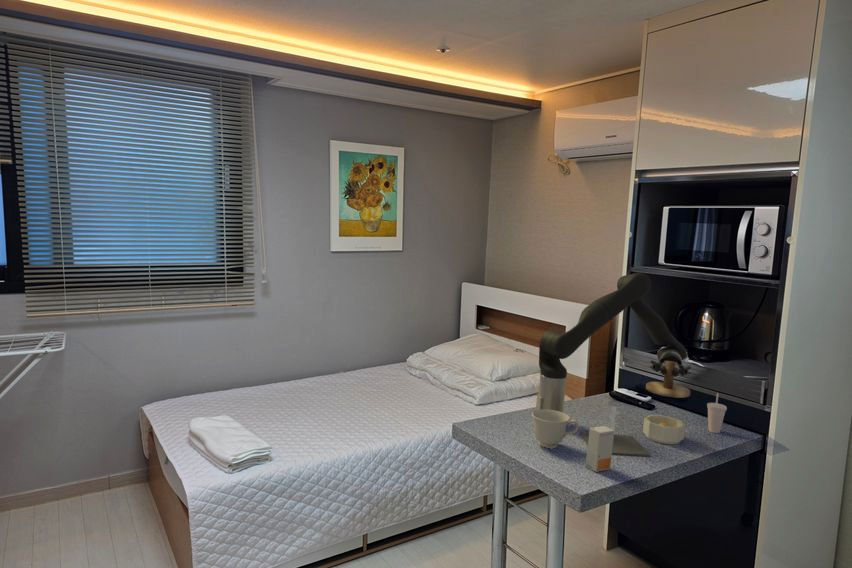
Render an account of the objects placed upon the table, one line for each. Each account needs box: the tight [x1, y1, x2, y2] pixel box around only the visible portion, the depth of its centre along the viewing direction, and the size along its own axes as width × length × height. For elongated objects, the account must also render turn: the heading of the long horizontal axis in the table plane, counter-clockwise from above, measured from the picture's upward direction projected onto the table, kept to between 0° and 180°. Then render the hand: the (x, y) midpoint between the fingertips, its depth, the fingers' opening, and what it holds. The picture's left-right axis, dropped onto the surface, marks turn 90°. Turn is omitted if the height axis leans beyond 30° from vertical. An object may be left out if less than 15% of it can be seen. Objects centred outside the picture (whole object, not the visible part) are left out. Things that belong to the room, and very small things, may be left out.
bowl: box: [642, 414, 686, 446], centre depth 191 cm, size 12×12×6 cm
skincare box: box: [585, 425, 615, 473], centre depth 163 cm, size 6×4×12 cm
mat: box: [579, 432, 652, 457], centre depth 183 cm, size 18×16×1 cm
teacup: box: [531, 409, 580, 449], centre depth 178 cm, size 12×15×10 cm
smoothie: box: [706, 392, 728, 434], centre depth 201 cm, size 6×6×14 cm
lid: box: [645, 361, 691, 399], centre depth 189 cm, size 14×14×10 cm
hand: (669, 372), depth 187 cm, fingers closed on lid, 3 cm apart
